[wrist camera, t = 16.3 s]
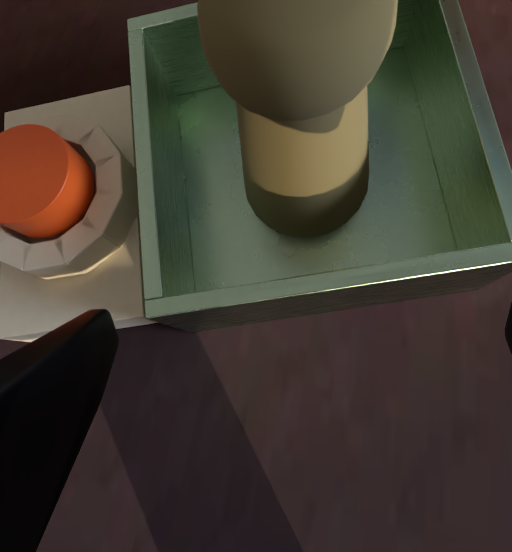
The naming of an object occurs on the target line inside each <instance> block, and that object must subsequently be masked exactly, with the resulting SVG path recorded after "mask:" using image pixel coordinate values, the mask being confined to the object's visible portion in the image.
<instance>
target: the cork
mask: <svg viewBox="0 0 512 552" xmlns="http://www.w3.org/2000/svg"><path fill="white" fill-rule="evenodd" d="M397 6H398V0H198V4H197V12H198V26H199V32H200V38H201V44H202V49H203V52H204V55H205V57H206V60H207V62H208V65H209V67H210V68H211V70H212V72H213V73H214V75H215V76H216V78H217V80H218V81H219V83H220V85H221V86H222V87H223V89H224V90H225V91H226V92H227V94H228V95H229V96H230V97H231V98H232V99H234V100H235V101H236V108H237V118H238V128H239V138H240V147H241V157H242V167H243V177H244V185H245V191H246V196H247V201H248V202H249V204H250V206H251V208H252V209H253V211H254V213H255V215H256V216H257V217H258V218H259V219H260V220H262V221H263V222H264V223H265V224H266V225H267V226H269V227H270V228H272V229H274V230H276V231H279V232H281V233H284V234H286V235H290V236H301V237H311V236H316V235H321V234H325V233H329V232H331V231H332V230H334V229H336V228H338V227H340V226H342V225H343V224H345V223H346V222H347V221H348V220H349V219H350V218H351V217H352V216H353V215H354V214H355V213H356V212H357V211H358V210H359V209H360V207H361V204H362V202H363V200H364V198H365V196H366V194H367V192H368V181H369V140H368V95H367V85H368V84H369V83H370V82H371V81H372V79H373V77H374V76H375V74H376V72H377V71H378V69H379V67H380V65H381V63H382V61H383V59H384V57H385V55H386V53H387V51H388V48H389V46H390V44H391V42H392V38H393V34H394V30H395V26H396V17H397Z"/></svg>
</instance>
